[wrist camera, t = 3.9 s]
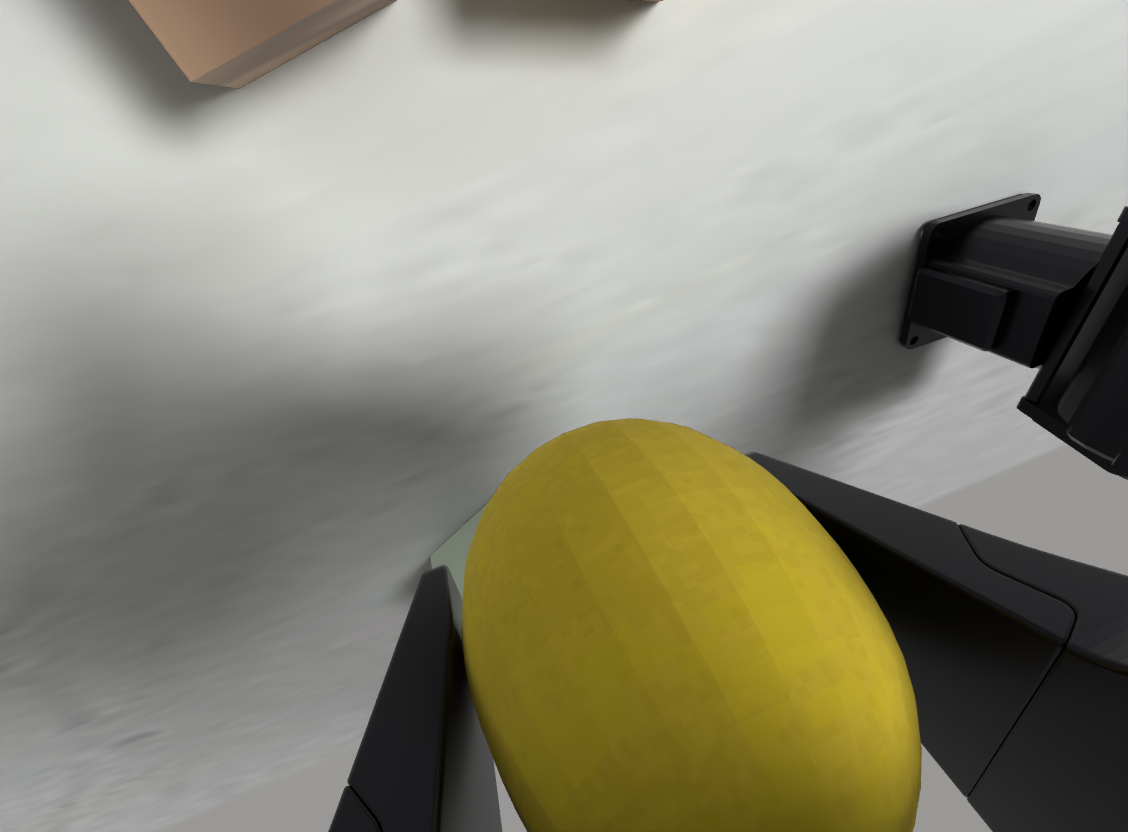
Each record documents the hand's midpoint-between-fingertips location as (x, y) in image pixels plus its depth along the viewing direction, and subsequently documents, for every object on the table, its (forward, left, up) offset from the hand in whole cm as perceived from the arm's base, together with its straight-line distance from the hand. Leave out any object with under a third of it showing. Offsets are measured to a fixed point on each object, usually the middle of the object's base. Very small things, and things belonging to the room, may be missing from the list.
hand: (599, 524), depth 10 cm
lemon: (0, 0, -2) cm, 2 cm away
